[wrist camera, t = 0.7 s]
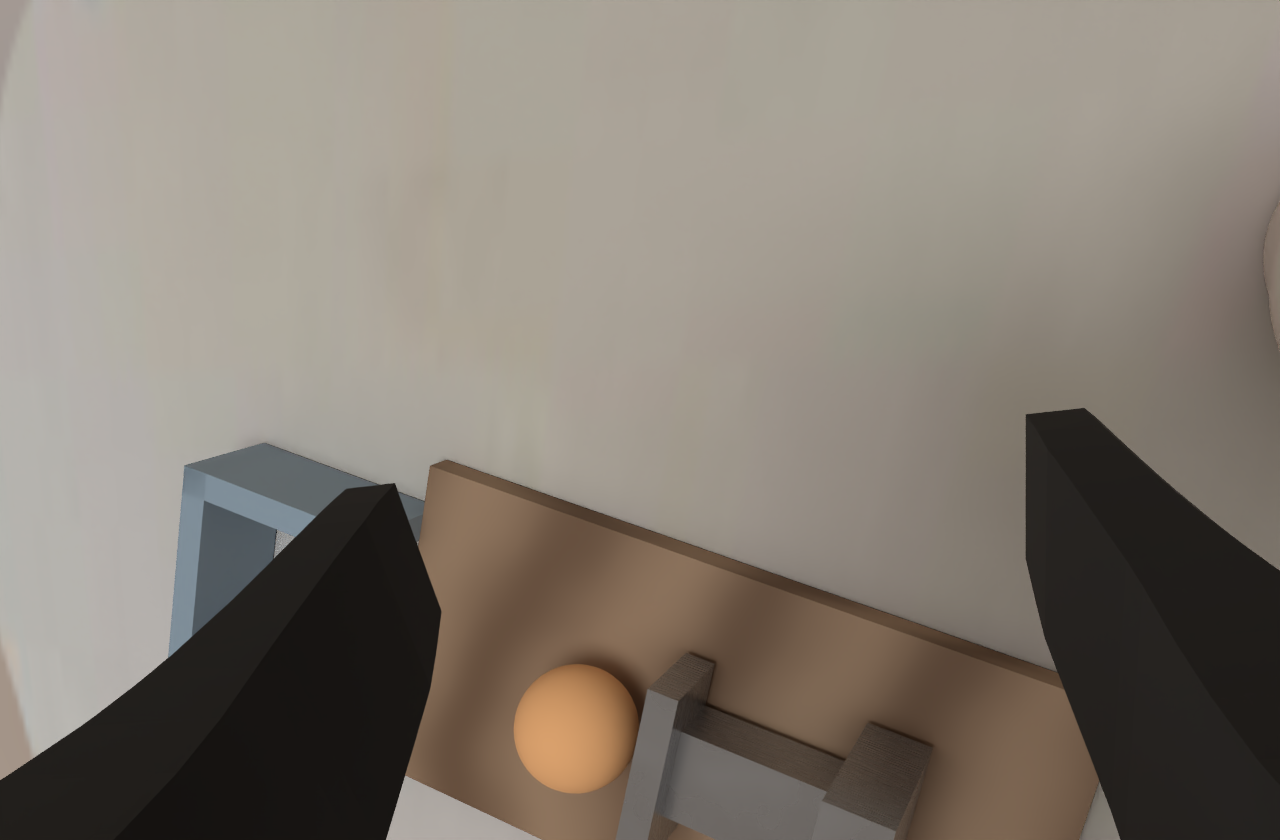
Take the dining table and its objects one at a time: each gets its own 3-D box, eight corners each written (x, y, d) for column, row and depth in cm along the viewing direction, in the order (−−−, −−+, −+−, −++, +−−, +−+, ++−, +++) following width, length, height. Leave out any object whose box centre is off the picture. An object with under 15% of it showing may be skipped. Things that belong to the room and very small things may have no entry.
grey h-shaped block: (933, 747, 35) (896, 831, 30) (883, 916, 36) (841, 1020, 32) (685, 652, 37) (618, 716, 33) (650, 813, 39) (581, 895, 35)
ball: (672, 755, 39) (620, 813, 35) (568, 763, 40) (509, 819, 37) (640, 639, 38) (585, 686, 35) (538, 653, 40) (475, 698, 37)
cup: (439, 507, 42) (370, 537, 38) (408, 713, 44) (340, 759, 41) (264, 442, 45) (184, 465, 41) (243, 640, 47) (166, 677, 44)
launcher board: (1124, 696, 33) (1123, 710, 32) (1009, 1035, 37) (1005, 1056, 36) (446, 459, 41) (430, 465, 41) (401, 754, 45) (386, 766, 44)
